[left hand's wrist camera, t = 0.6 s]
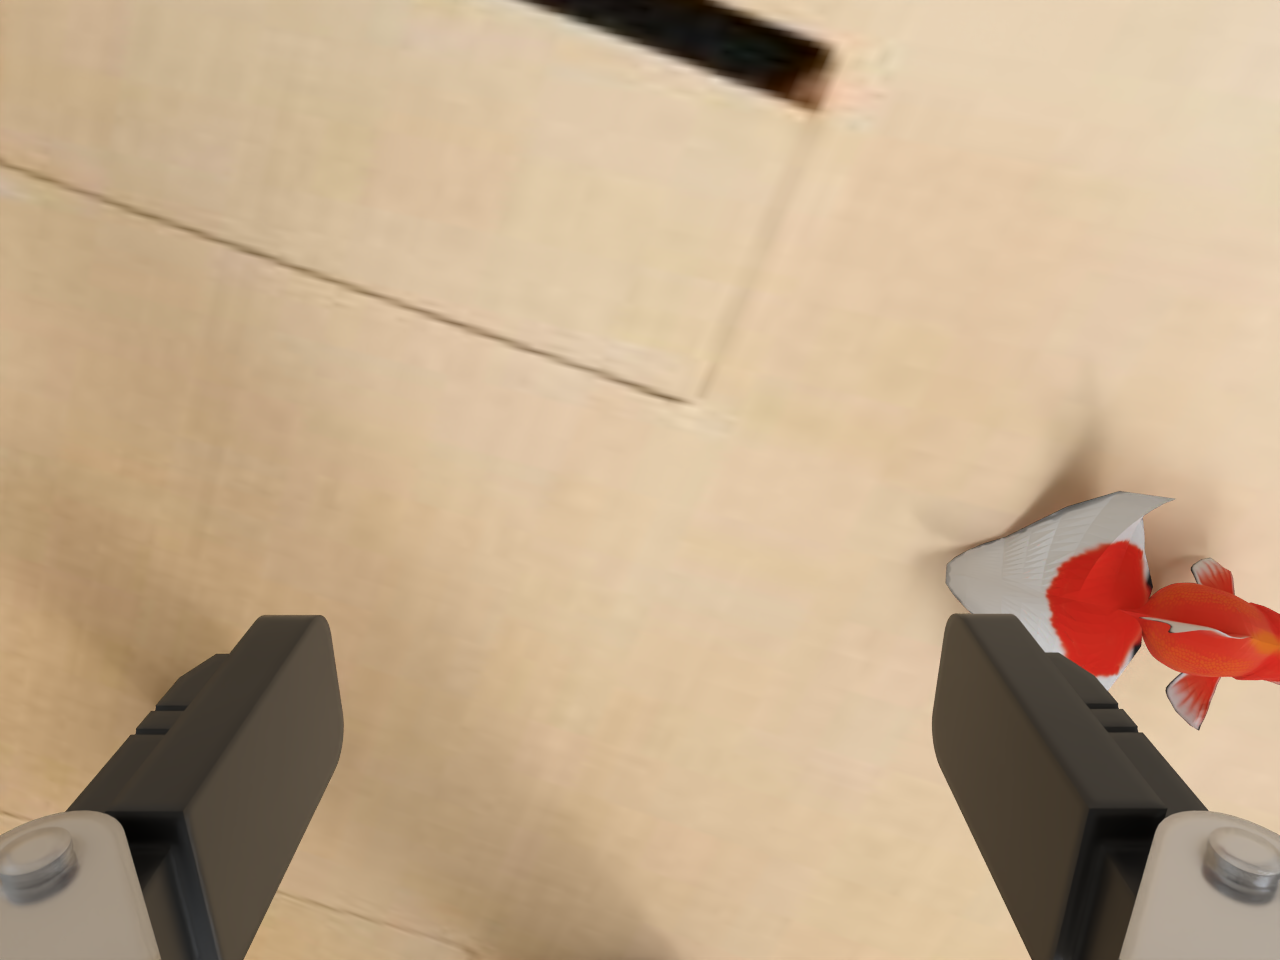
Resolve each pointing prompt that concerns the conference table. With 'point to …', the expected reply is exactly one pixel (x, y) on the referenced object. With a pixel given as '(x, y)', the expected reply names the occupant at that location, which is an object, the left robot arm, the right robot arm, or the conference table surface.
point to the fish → (1119, 601)
